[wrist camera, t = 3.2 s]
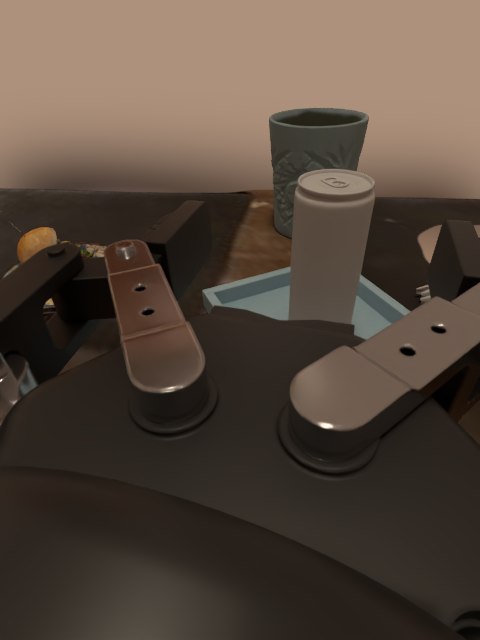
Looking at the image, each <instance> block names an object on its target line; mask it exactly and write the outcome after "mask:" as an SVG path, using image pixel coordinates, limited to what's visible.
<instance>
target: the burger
mask: <svg viewBox="0 0 480 640" xmlns="http://www.w3.org/2000/svg"><path fill="white" fill-rule="evenodd" d="M8 221H9V220H8ZM9 222H10V221H9ZM10 223H11V222H10ZM11 224H12V223H11ZM12 225H13V224H12ZM13 226H14V225H13ZM14 227H15V226H14ZM15 228H16V227H15ZM16 229H17V228H16ZM17 230H18V229H17ZM18 231H19V230H18ZM19 232H20V231H19ZM22 234H23V233H22ZM63 243H69V244H70V242H69V241H64V242H62V241H59V239H57V237H56V232H55V231H54V229H52V228H48V227H42V228H38V229H34V230H32V231H30V232H28V233H26V234H25V235H24V236H23V237H22V238H21V240H20V241H19V243H18V248H17V253H18V258H19V261H20V262H18V263H16V264H15V265H13V266H11V267H10V268H9V269H8V270H7V271H6V272H5V273H4V275H3V276H2V277H1V278H0V280H1V279H3V278H4V277H5V276H7V275H8V274H9V273H11V272H12V271H13V270H15V269H16V268H17V267H19V266H20V265H21V264H22V263H24V262H25V261H26V260H28V259H29V258H30V257H32V256H33V255H34V254H36V253H37V252H38V251H40V250H42V249H43V248H46V247H48V246H52V245H56V244H63ZM74 245H77V246H78V247H79V249H80V252H81V255H82V258H92V257H104V254H103V252H104V250H105V248H106V247H108V246H107V245H100V244H96V243H81V242H79V243H77V244H74ZM56 312H57V311H56V309H55V306H54V304H53V301H52V299H51V298H50V299H49V300H48V301H47V302H46V303H45V305H44V307H43V318H44V320H45V321H48V320H49V319H50V318H51V317H52V316H53V315H54V314H55V313H56Z"/></svg>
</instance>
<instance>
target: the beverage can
mask: <svg viewBox="0 0 480 640" xmlns="http://www.w3.org/2000/svg"><path fill="white" fill-rule="evenodd" d="M297 184H298V187H297V188H296V190H295V196H294V213H293V231H292V248H291V269H290V299H289V319H288V320H324V321H331V322H338V323H345V324H351V322H352V317H353V311H354V306H355V301H356V295H357V290H358V285H359V280H360V274H361V269H362V264H363V258H364V253H365V248H366V242H367V237H368V232H369V226H370V221H371V216H372V210H373V205H374V200H375V194H374V191H373V188H374V186H375V182H374V180H373V179H372V178H371V177H370V176H368V175H366V174H363V173H360V172H356V171H351V170H343V169H322V170H315V171H311V172H307V173H305V174H303V175H301V176H300V177H299V178H298V182H297Z"/></svg>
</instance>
